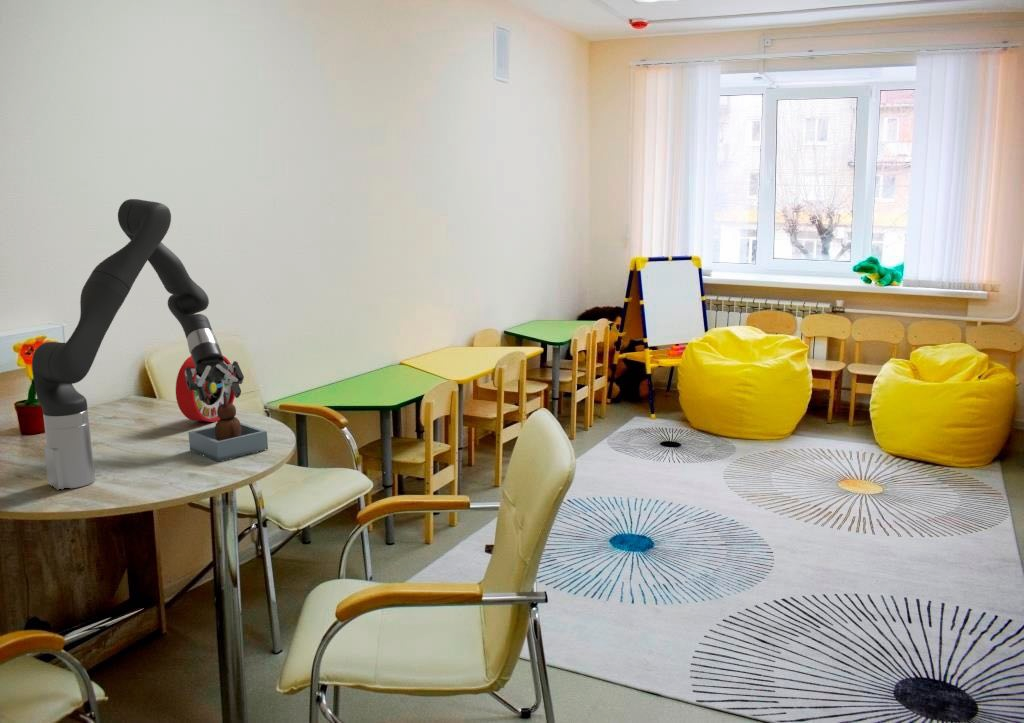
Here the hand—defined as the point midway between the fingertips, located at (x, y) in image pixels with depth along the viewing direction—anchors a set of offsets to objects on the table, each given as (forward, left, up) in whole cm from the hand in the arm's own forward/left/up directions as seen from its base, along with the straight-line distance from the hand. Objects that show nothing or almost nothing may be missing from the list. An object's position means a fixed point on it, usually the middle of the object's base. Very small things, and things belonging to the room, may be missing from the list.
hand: (221, 398), depth 232 cm
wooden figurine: (0, -2, -13) cm, 13 cm away
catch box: (-1, -3, -13) cm, 14 cm away
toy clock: (+11, +30, -14) cm, 35 cm away
